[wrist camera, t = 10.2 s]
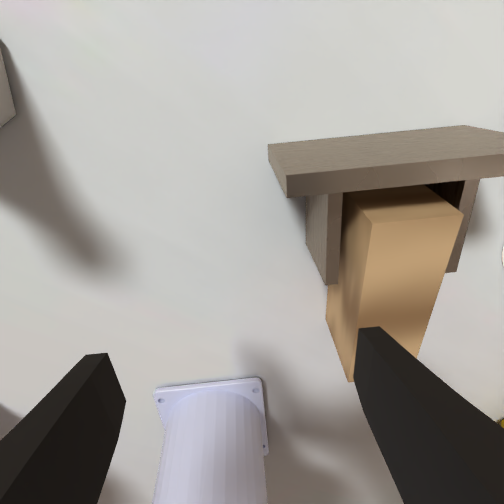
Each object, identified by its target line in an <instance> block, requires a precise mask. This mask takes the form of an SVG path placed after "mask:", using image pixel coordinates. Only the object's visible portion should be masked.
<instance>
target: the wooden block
mask: <svg viewBox="0 0 504 504" xmlns="http://www.w3.org/2000/svg"><path fill="white" fill-rule="evenodd" d="M463 216H464V214H463V213H461V212H460V211H459V210H457V209H456V208H455V207H453V206H452V205H451V204H449V203H448V202H447V201H445V200H444V199H442V198H441V197H440V196H438V195H437V194H436V193H434V192H433V191H432V190H430V189H429V188H428V187H426V186H425V185H424V184H421V185H411V186H402V187H392V188H382V189H372V190H362V191H352V192H343V200H342V220H341V239H340V258H339V277H338V284H334V285H328V294H327V308H326V321H327V324H328V327H329V330H330V333H331V335H332V338H333V341H334V344H335V347H336V349H337V352H338V355H339V358H340V361H341V364H342V366H343V369H344V372H345V375H346V378H347V380H348V382H354V379H353V374H354V365H355V356H356V347H357V338H358V329H359V328H367V327H377V326H380V327H381V328H382V329H383V330H384V331H386V332H387V333H388V334H389V335H390V336H391V337H392V338H394V339H395V340H396V341H397V342H398V343H399V344H400V345H401V346H403V347H404V348H405V349H406V350H407V351H408V352H409V353H411V354H412V355H413V356H414V357H415V358H417V355H418V352H419V349H420V346H421V343H422V340H423V337H424V334H425V331H426V328H427V325H428V322H429V319H430V316H431V313H432V310H433V307H434V304H435V301H436V298H437V295H438V292H439V289H440V286H441V283H442V280H443V277H444V274H445V271H446V268H447V265H448V262H449V258H450V255H451V252H452V249H453V246H454V243H455V240H456V237H457V234H458V231H459V228H460V225H461V222H462V219H463Z"/></svg>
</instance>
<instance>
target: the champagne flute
mask: <svg viewBox="0 0 504 504" xmlns="http://www.w3.org/2000/svg"><path fill="white" fill-rule="evenodd" d="M502 262H503V266H504V246H503V251H502Z"/></svg>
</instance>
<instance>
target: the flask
mask: <svg viewBox="0 0 504 504" xmlns="http://www.w3.org/2000/svg"><path fill="white" fill-rule="evenodd" d="M15 115H16V112H15V108H14V103H13V99H12V95H11V91H10V86H9V82H8V78H7V74H6V70H5V65H4V61H3V57H2V53H1V48H0V128H1V127H2V126H3V125H4V124H5V123H7V122H8V121H9V120H10V119H12V118H13V117H14V116H15Z"/></svg>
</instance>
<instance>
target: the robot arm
mask: <svg viewBox="0 0 504 504" xmlns="http://www.w3.org/2000/svg"><path fill="white" fill-rule="evenodd" d="M353 379H354V382H355V386H356V389H357V392H358V395H359V399H360V402H361V405H362V408H363V411H364V414H365V416H366V418H367V421H368V423H369V425H370V428H371V430H372V432H373V434H374V437H375V439H376V441H377V443H378V446H379V448H380V450H381V452H382V455H383V457H384V459H385V461H386V464H387V466H388V468H389V470H390V473H391V475H392V477H393V479H394V482H395V484H396V486H397V488H398V491H399V493H400V495H401V497H402V500H403V502H404V504H504V428H503V427H501V426H500V425H499V424H497V423H496V422H495V421H493V420H492V419H491V418H489V417H488V416H487V415H485V414H484V413H483V412H481V411H480V410H479V409H477V408H476V407H475V406H473V405H472V404H471V403H469V402H468V401H467V400H466V399H464V398H463V397H462V396H461V395H459V394H458V393H457V392H456V391H454V390H453V389H452V388H451V387H449V386H448V385H447V384H446V383H445V382H443V381H442V380H441V379H440V378H439V377H437V376H436V375H435V374H434V373H433V372H431V371H430V370H429V369H428V368H427V367H426V366H424V365H423V364H422V363H421V362H420V361H419V360H417V359H416V358H415V357H414V356H413V355H412V354H411V353H409V352H408V351H407V350H406V349H405V348H404V347H403V346H401V345H400V344H399V343H398V342H397V341H396V340H395V339H394V338H392V337H391V336H390V335H389V334H388V333H387V332H386V331H384V330H383V329H382V328H381V327H380V326H377V327H367V328H359V329H358V338H357V347H356V356H355V365H354V374H353ZM255 388H256V389H255ZM153 398H154V400H155V403H156V406H157V409H158V412H159V415H160V418H161V421H162V424H163V426H164V429H165V436H164V441H163V446H162V452H161V457H160V462H159V468H158V473H157V479H156V484H155V489H154V495H153V500H152V504H268V500H267V489H266V477H265V466H264V456H266V455H268V454H269V449H268V439H267V429H266V419H265V409H264V399H263V389H262V381H261V379H260V378H256V377H254V378H245V379H235V380H226V381H217V382H208V383H198V384H189V385H180V386H170V387H161V388H157V389H155V390H154V393H153ZM125 404H126V399H125V397H124V394H123V391H122V389H121V386H120V384H119V381H118V379H117V376H116V374H115V371H114V368H113V366H112V363H111V361H110V358H109V356H108V353H100V354H90V355H85V356H84V357H83V358H82V359H81V360H80V361H79V362H78V363H77V364H76V365H75V366H74V367H73V368H72V369H71V370H70V371H69V372H68V373H67V374H66V375H65V376H64V377H63V379H62V380H61V381H60V382H59V383H58V384H57V385H56V386H55V387H54V388H53V389H52V390H51V391H50V392H49V393H48V394H47V395H46V396H45V397H44V398H43V399H42V400H41V401H40V402H39V403H38V404H37V405H36V406H35V407H34V408H33V409H32V410H31V411H30V412H29V413H28V414H27V415H26V416H25V417H24V418H23V419H22V420H21V421H20V422H19V423H18V424H17V425H16V426H15V427H14V428H13V429H12V430H11V431H10V432H9V433H8V434H7V435H6V436H5V437H4V438H3V439H2V440H1V441H0V504H97V502H98V499H99V496H100V493H101V490H102V487H103V484H104V481H105V478H106V475H107V472H108V469H109V466H110V463H111V460H112V457H113V454H114V451H115V447H116V444H117V441H118V438H119V433H120V429H121V424H122V419H123V414H124V409H125Z"/></svg>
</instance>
